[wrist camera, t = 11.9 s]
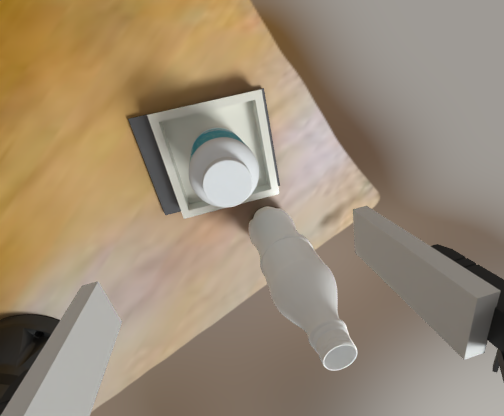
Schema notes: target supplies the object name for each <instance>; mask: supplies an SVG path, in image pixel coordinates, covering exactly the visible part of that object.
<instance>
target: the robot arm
mask: <svg viewBox="0 0 504 416" xmlns="http://www.w3.org/2000/svg"><path fill="white" fill-rule="evenodd" d="M353 220H354V241H355V253H356V254H357V255H358V256H359V257H360V258H361V259H362V260H363V261H364V262H365V263H366V264H367V265H368V266H369V267H370V268H371V269H372V270H373V271H374V272H375V273H376V274H377V275H378V276H379V277H380V278H381V279H382V280H383V281H385V283H387V285H389V286H390V287H391V288H392V289H393V290H394V291H395V292H396V293H397V294H398V295H399V296H400V297H401V298H402V299H403V300H404V301H405V302H406V303H407V304H408V305H409V306H410V307H411V308H412V309H413V310H414V311H415V312H416V313H417V314H418V315H419V316H420V317H421V318H422V319H423V320H424V321H425V322H427V324H428V325H429V326H430V327H431V328H432V329H433V330H434V331H436V333H437V334H438V335H439V336H440V337H442V339H444V340H445V341H446V342H447V343H448V344H449V345H450V346H451V347H452V348H453V349H454V350H455V351H456V352H457V353H458V354H459V355H460V356H461V357H462V358H463V359H464V360H465V359H467V358H470V357H473V356H476V355H479V354H482V353H484V352H485V348H486V345H487V340H489V342H491V343H492V344H493V345H494V346H495V347H497V348H498V350H497V353H496V357H495V360H494V364H493V371H494V372H497V371H498V368H499V366H500V370H501V373H502V377H503V381H504V280H503V279H502V278H500V277H498V276H497V275H495V274H493V273H491V272H490V271H488V270H486V269H485V268H483V267H481V266H480V265H476V263H475V262H473V261H471V260H469V259H468V258H467V259H466V258H465V257H464V256H463V255H461V254H459V253H458V252H456V251H454V250H453V249H450V248H447V247H444V246H441V245H438V244H437V245H433V246H429V245H428V244H426V243H425V242H423V241H421V240H420V239H418V238H417V237H415V236H413V235H412V234H410V233H409V232H407V231H405V230H404V229H402V228H401V227H399V226H398V225H396V224H395V223H393V222H391V221H389V220H388V219H387V218H385V217H384V216H382V215H380V214H379V213H377V212H376V211H374V210H373V209H371V208H369V207H368V206H364V207H360V208H357V209H353ZM121 324H122V321H121V319H120V318H119V316H118V314H117V312H116V311H115V309H114V307H113V306H112V304H111V302H110V301H109V299H108V297H107V295H106V294H105V292H104V290H103V289H102V287H101V285H100V283H99V282H94V283H91V284H87V285H84V286H82V287H81V288H80V290H79V291H78V293H77V295H76V296H75V298H74V299H73V301H72V303H71V304H70V306H69V307H68V309H67V311H66V312H65V314H64V315H63V317H62V318H61V320H60V321H58V320H56V319H53V318H49V317H45V316H39V315H18V316H12V317H8V318H5V319H2V320H0V416H90V413H91V410H92V407H93V405H94V402H95V399H96V396H97V393H98V390H99V387H100V384H101V381H102V379H103V376H104V373H105V370H106V367H107V364H108V361H109V358H110V355H111V352H112V350H113V347H114V344H115V341H116V338H117V335H118V332H119V329H120V326H121Z"/></svg>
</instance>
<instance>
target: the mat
mask: <svg viewBox="0 0 504 416" xmlns="http://www.w3.org/2000/svg"><path fill="white" fill-rule="evenodd" d="M259 90H260V89H259ZM254 91H255V90H254ZM245 93H246V92H245ZM262 95H263V101H264V107H265V113H266V119H267V124H268V130H269V136H270V142H271V148H272V154H273V160H274V166H275V172H276V177H277V183H278V186H280V183H279V177H278V171H277V165H276V159H275V153H274V147H273V141H272V135H271V129H270V123H269V117H268V111H267V105H266V99H265V93H264V88H263V89H262ZM223 98H224V97H223ZM214 100H215V99H214ZM205 102H206V101H205ZM192 105H193V104H192ZM183 107H184V106H183ZM174 109H175V108H174ZM161 112H162V111H161ZM152 114H153V113H152ZM148 115H149V114H148ZM128 120H129V122H130V125H131V128H132V130H133V133H134V135H135V138H136V141H137V143H138V146H139V148H140V151H141V153H142V156H143V159H144V161H145V164H146V166H147V169H148V172H149V174H150V177H151V179H152V182H153V184H154V187H155V190H156V192H157V195H158V197H159V200H160V203H161V205H162V208H163V210H164V213H165V215H168V214H172V213H176V212H180V211H181V209H180V207H179V204H178V201H177V198H176V195H175V192H174V190H173V187H172V184H171V181H170V178H169V176H168V173H167V170H166V167H165V164H164V162H163V159H162V156H161V153H160V150H159V147H158V145H157V142H156V139H155V136H154V133H153V131H152V128H151V125H150V122H149V119H148V117H147V115H143V116H139V117H134V118H130V119H128Z"/></svg>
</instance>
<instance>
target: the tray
mask: <svg viewBox="0 0 504 416" xmlns="http://www.w3.org/2000/svg"><path fill="white" fill-rule="evenodd" d="M147 117H148V119H149V122H150V125H151V128H152V131H153V133H154V136H155V139H156V142H157V145H158V147H159V150H160V153H161V156H162V159H163V162H164V164H165V167H166V170H167V173H168V176H169V178H170V181H171V184H172V187H173V190H174V192H175V195H176V198H177V201H178V204H179V207H180V209H181V212H182V215H183V218H184V219H185V218H189V217H193V216H197V215H200V214H204V213H208V212H212V211H216V210H219V209H223V208H227V207H217V206H213V205H210V204H208V203H206V202H204V201H203V200H202V199H201V198H199V197H198V196H197V194H196V193H195V192H194V190H193V189H192V186H191V184H190V181H189V163H190V156H191V149H192V145H193V143H194V141H195V139H196V138H197V137H198V136H199V135H200V134H201V133H202V132H204V131H205V130H208V129H211V128H225V129H228V130H230V131H232V132H234V133H235V134H236V135H237V136H238V137H239V138H240V139H241V140H242V141H243V142H244V143H245V144H246V145H247V146H248V147H249V148H250V150H251V151H252V152H253V154H254V155H255V157H256V159H257V162H258V165H259V179H258V183H257V186H256V188H255V190H254V191H253V193H252V194H251V195H250V196H249V197H248V198H247V199H246V200H245V201H244V202H242V203H246V202H250V201H254V200H258V199H261V198H265V197H269V196H273V195H277V194H279V189H278V183H277V177H276V172H275V166H274V160H273V154H272V148H271V142H270V136H269V130H268V124H267V119H266V113H265V107H264V101H263V95H262V89H260V90H255V91H250V92H246V93H241V94H237V95H232V96H228V97H224V98H219V99H215V100H210V101H206V102H201V103H197V104H193V105H188V106H184V107H179V108H175V109H170V110H166V111H162V112H157V113H153V114H149V115H147ZM242 203H241V204H242Z"/></svg>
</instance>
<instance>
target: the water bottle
mask: <svg viewBox="0 0 504 416" xmlns="http://www.w3.org/2000/svg"><path fill="white" fill-rule="evenodd" d="M248 231H249V236H250V239H251V242H252V244H253V245H254V246H255V247H256V248H257V250H258V252H259V255H260V267H261V270H262V273H263V274H264V276H265V278H266V281H267V284H268V286H269V289H270V293H271V298H272V301H273V302H274V304H275V306H276V307H277V309H278V310H279V311H280V313H281V314H283V315H284V316H285V317H286V318H287V319H289V320H290V321H291V322H293V323H294V324H296V325H298V326H299V327H301V328H302V329H303V330H304V331H305V332H306V333H307V334H308V340H309V343H310V345H311V346H312V347H313V348H314V350H315V351H316V352H317V353H318V354H319V358H320V359H321V362H322V363H323V365H324V366H325V367H326V368H327V369H329V370H340V369H343V368H346V367H347V366H349V365H350V364H351V363H352V362H353V361H354V360H355V359H356V356H357V348H356V346H355V345H354V343H353V341H352V340H351V338H350V337H349V333H348V330H347V326H346V324H345V323H344V322H343V321H342V320H340V319H339V316H338V312H337V302H338V300H337V299H338V298H337V286H336V281H335V278H334V276H333V274H332V272H331V270H330V269H329V267H328V266H327V265H326V264H324V262H323V261H322V260H321V258H320V257H319V256H318V254H317V253H316V252H315V250H314V248H313V246H312V245H311V243H310V242H309V241H308V240H307V238H306V237H304V236H303V235H301V234H299V233H298V232H297V230H296V227H295V224H294V222H293V220H292V218H291V217H290V216H289V215H288V213H286V212H285V211H284V210H282V209H280V208H278V209H277V208H274V207H269V206H266V207H263V208H260V209H259V210H257V211H256V213H255V214H254V218H253V219H251V220H250V222H249V227H248Z"/></svg>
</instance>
